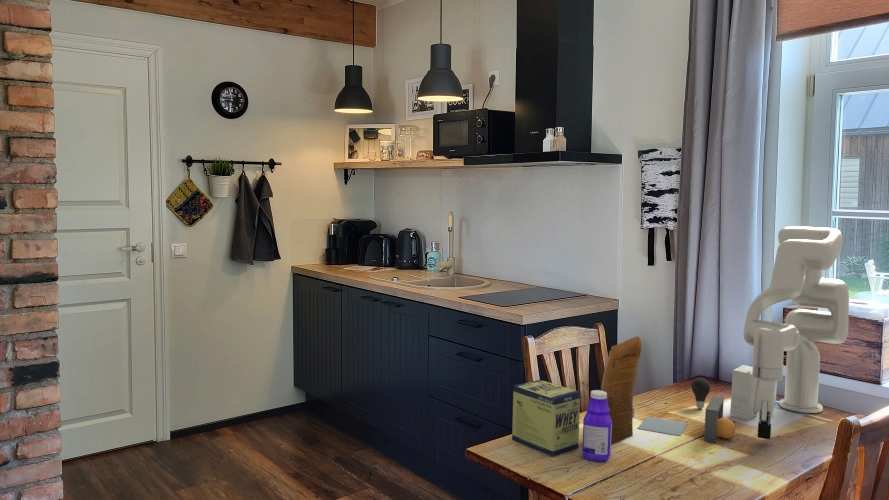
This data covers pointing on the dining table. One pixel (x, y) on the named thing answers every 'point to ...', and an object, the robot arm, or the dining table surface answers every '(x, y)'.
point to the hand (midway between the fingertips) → (764, 437)
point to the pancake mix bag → (621, 386)
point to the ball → (725, 428)
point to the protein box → (546, 417)
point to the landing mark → (662, 426)
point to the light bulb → (700, 391)
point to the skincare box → (743, 393)
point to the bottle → (597, 428)
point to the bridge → (713, 418)
